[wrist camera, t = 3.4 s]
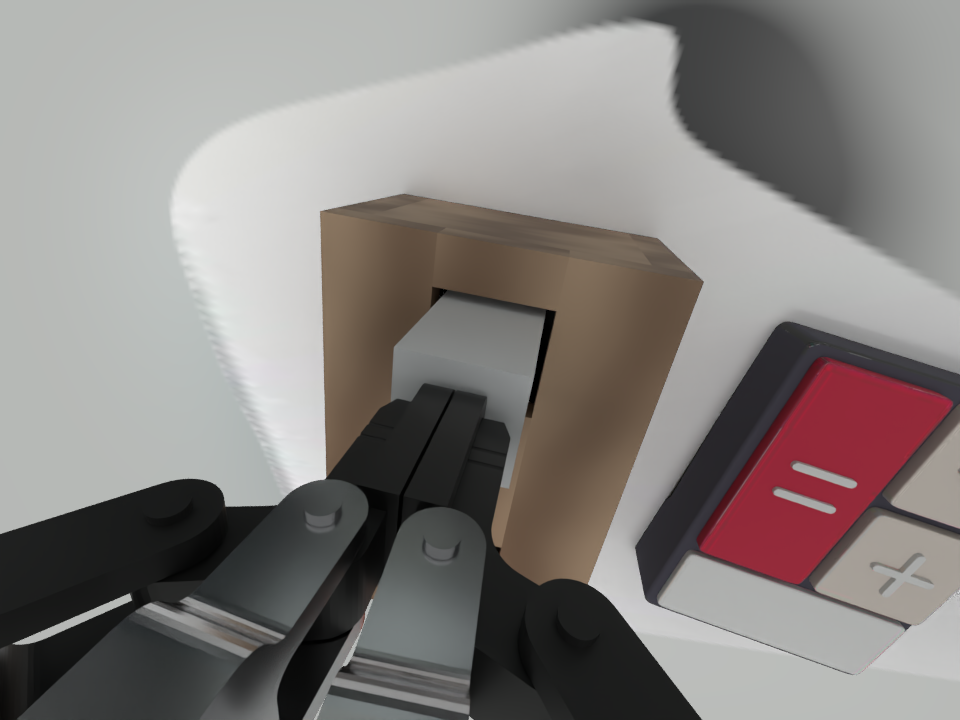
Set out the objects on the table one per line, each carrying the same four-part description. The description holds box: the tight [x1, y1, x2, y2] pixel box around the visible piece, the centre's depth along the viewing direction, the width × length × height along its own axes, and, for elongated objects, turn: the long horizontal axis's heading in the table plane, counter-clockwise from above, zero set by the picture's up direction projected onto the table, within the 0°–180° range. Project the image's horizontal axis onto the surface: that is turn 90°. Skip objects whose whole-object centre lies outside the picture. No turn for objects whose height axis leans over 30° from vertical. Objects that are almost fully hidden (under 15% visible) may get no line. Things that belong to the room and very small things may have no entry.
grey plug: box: [391, 290, 546, 489], centre depth 13 cm, size 3×3×7 cm
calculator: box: [635, 322, 960, 675], centre depth 20 cm, size 11×4×15 cm
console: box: [320, 194, 703, 599], centre depth 19 cm, size 11×17×7 cm, turn 172°
